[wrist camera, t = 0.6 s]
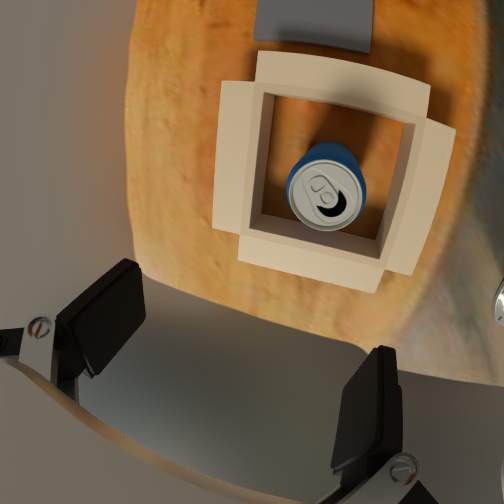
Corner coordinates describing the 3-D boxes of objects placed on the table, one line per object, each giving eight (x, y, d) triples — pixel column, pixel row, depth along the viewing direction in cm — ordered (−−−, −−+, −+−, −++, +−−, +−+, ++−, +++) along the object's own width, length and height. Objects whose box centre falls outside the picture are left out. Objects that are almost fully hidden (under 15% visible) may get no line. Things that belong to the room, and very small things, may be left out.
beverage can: (325, 204, 32) (317, 250, 22) (291, 162, 31) (266, 188, 21) (368, 174, 29) (384, 207, 19) (334, 129, 27) (332, 136, 17)
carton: (443, 99, 21) (460, 98, 17) (394, 277, 33) (400, 299, 29) (241, 58, 26) (225, 50, 22) (226, 236, 38) (211, 253, 34)
